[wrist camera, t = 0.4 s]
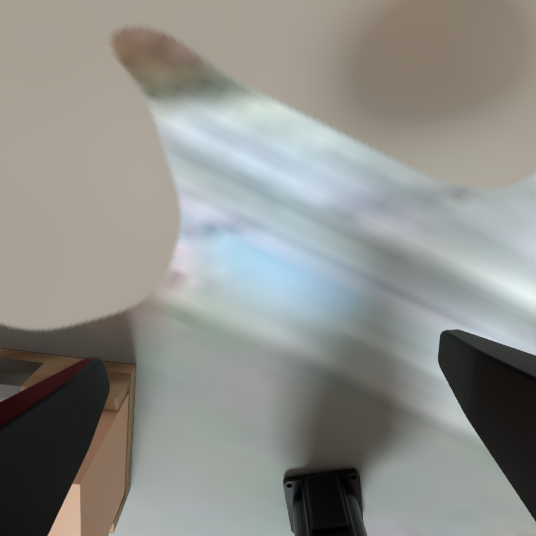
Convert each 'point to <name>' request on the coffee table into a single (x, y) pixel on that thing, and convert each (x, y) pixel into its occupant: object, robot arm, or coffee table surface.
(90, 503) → the block
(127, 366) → the track
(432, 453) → the coffee table surface
